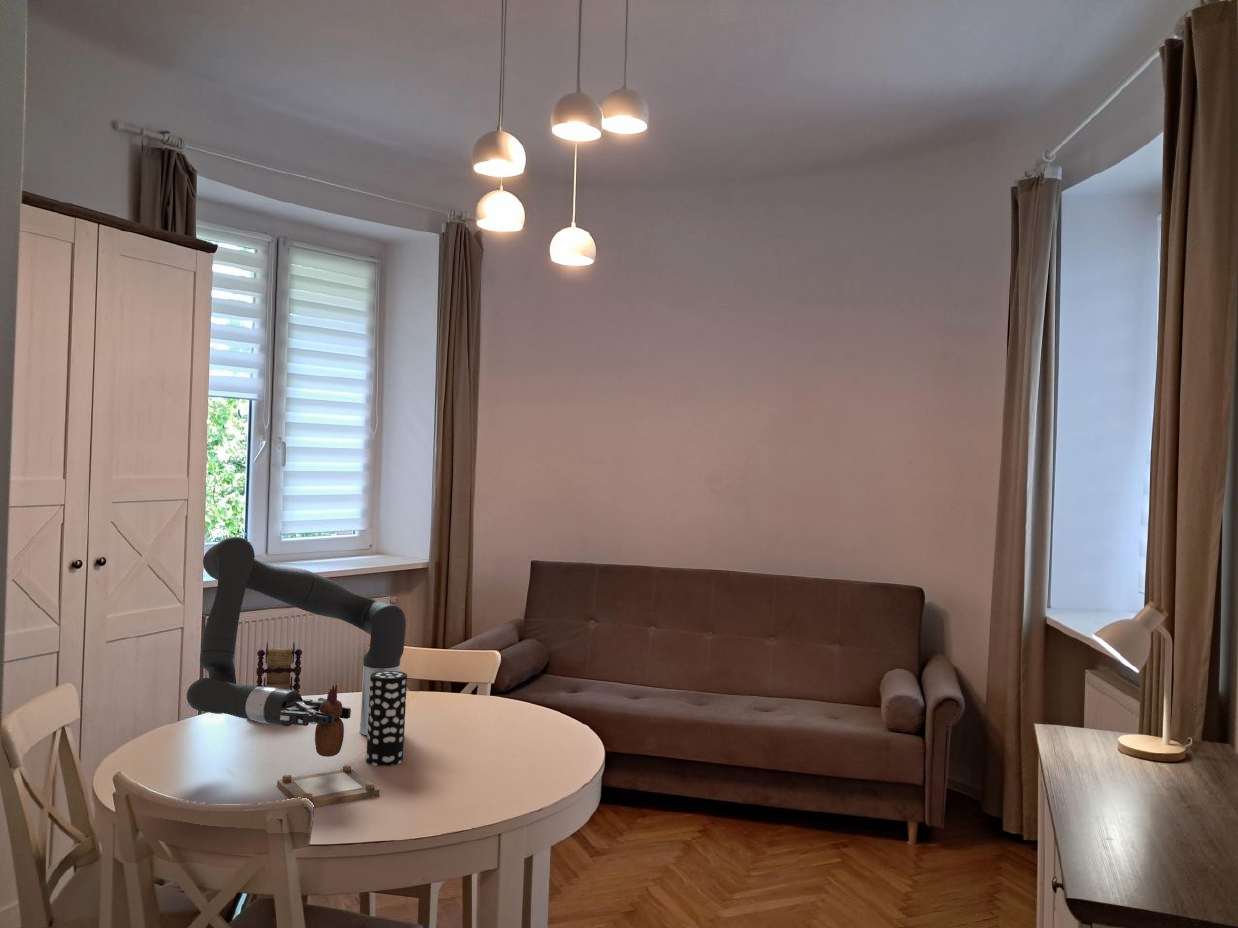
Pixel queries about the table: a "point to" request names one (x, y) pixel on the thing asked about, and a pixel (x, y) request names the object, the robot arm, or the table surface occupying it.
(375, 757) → the spotted tube
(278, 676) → the scroll
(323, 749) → the wooden figurine
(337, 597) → the robot arm
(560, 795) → the table surface
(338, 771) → the base plate
